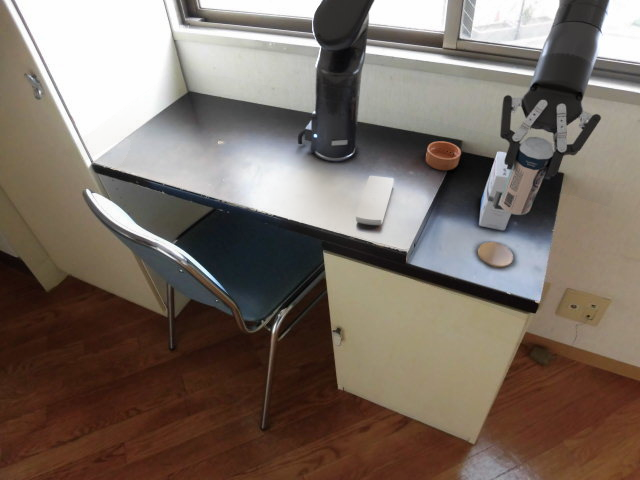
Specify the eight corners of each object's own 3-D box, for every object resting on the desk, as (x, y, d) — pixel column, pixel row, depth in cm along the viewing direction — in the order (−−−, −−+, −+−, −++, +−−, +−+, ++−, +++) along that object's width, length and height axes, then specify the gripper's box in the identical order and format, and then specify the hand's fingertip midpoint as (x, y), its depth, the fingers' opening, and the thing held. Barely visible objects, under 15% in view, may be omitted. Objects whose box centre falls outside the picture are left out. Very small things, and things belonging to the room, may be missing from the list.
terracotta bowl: (422, 166, 104) (424, 155, 102) (428, 150, 109) (430, 138, 107) (455, 173, 102) (458, 162, 100) (459, 156, 107) (463, 145, 105)
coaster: (476, 262, 83) (476, 260, 83) (479, 240, 87) (480, 238, 87) (511, 271, 82) (512, 269, 81) (513, 248, 86) (514, 246, 85)
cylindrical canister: (530, 219, 75) (558, 155, 67) (499, 214, 76) (523, 150, 67) (527, 200, 78) (553, 137, 70) (497, 196, 79) (519, 133, 71)
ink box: (480, 199, 96) (501, 135, 86) (505, 204, 95) (530, 140, 85) (478, 226, 90) (500, 161, 80) (504, 231, 89) (531, 166, 79)
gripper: (518, 42, 68) (480, 154, 69) (627, 61, 64) (586, 181, 65) (513, 64, 76) (478, 166, 76) (610, 83, 71) (573, 191, 72)
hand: (528, 172), depth 70 cm, fingers closed on cylindrical canister, 4 cm apart
